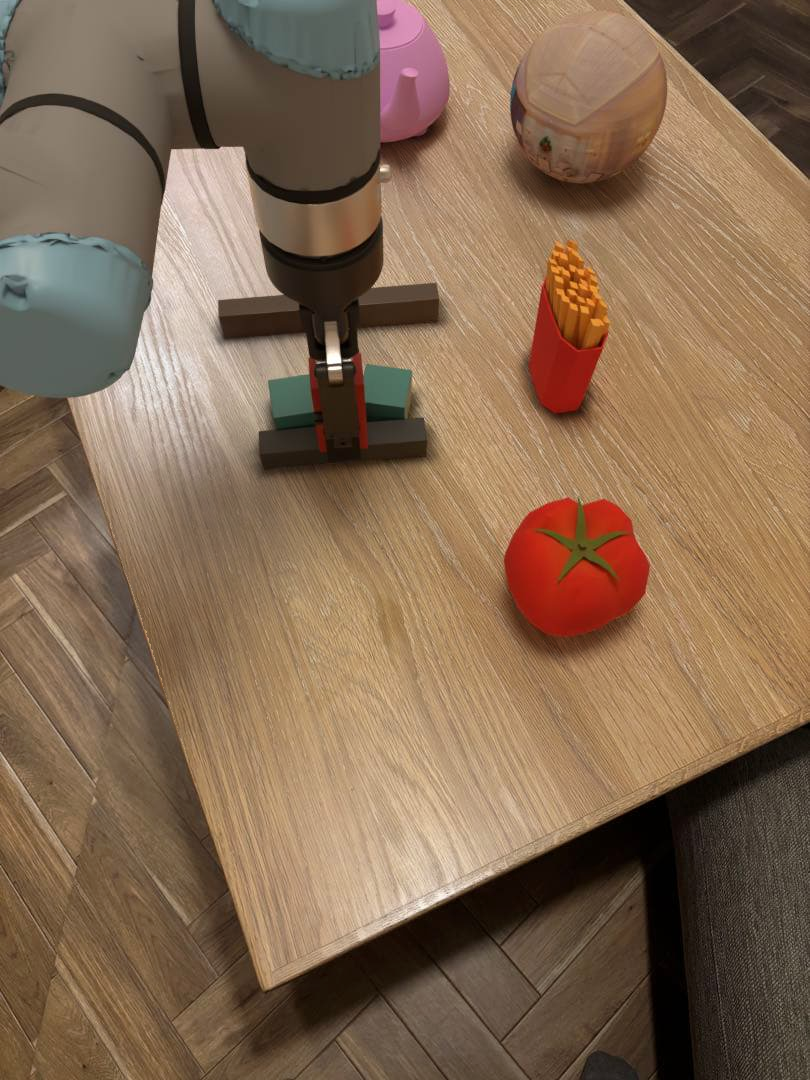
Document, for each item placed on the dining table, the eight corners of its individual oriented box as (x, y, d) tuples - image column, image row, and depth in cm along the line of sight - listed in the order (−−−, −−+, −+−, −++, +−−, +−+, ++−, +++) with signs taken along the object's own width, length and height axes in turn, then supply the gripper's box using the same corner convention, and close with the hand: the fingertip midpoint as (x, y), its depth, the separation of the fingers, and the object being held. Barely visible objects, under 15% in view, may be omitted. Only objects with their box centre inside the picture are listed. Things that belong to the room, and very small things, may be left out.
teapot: (475, 171, 91) (485, 61, 80) (344, 196, 89) (336, 87, 78) (421, 54, 99) (424, -60, 88) (301, 75, 97) (289, -39, 87)
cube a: (324, 438, 75) (321, 410, 72) (279, 445, 75) (273, 418, 71) (318, 401, 77) (314, 372, 73) (273, 407, 77) (267, 379, 73)
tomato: (480, 624, 67) (490, 577, 60) (528, 511, 72) (544, 455, 64) (609, 676, 65) (638, 636, 58) (650, 558, 70) (682, 505, 62)
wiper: (426, 458, 74) (430, 379, 64) (263, 472, 73) (242, 394, 64) (422, 430, 76) (426, 347, 66) (262, 443, 75) (241, 362, 65)
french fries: (592, 416, 76) (626, 316, 65) (545, 424, 76) (571, 324, 64) (563, 337, 80) (591, 228, 69) (519, 343, 80) (539, 235, 68)
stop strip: (438, 321, 81) (439, 298, 79) (224, 338, 80) (218, 316, 77) (435, 305, 82) (436, 282, 79) (223, 322, 81) (217, 299, 78)
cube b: (404, 434, 75) (404, 407, 72) (359, 428, 76) (357, 401, 72) (411, 398, 77) (412, 369, 74) (367, 392, 77) (366, 363, 74)
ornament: (614, 107, 95) (649, -35, 82) (666, 201, 89) (714, 63, 75) (484, 130, 93) (498, -12, 80) (528, 227, 87) (552, 90, 74)
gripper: (395, 315, 48) (396, 517, 69) (370, 124, 56) (378, 359, 77) (261, 326, 48) (303, 525, 69) (254, 132, 55) (293, 365, 76)
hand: (342, 437), depth 73 cm, fingers closed on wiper, 3 cm apart
